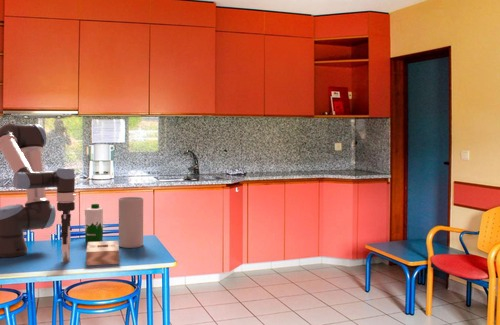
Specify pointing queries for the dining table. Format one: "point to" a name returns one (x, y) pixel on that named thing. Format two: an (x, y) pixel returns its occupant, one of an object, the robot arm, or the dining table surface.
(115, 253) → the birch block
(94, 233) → the milk carton
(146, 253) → the dining table surface
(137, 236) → the cylinder vase
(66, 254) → the beige wooden bar
